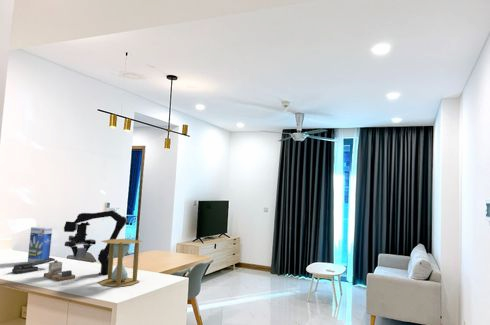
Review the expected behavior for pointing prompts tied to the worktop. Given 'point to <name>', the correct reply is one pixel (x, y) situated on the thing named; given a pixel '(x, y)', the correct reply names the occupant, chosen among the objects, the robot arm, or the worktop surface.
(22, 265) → the dark grey stapler
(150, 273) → the worktop surface
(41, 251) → the blue printed box
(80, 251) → the block
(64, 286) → the worktop surface
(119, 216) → the robot arm
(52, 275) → the rail board
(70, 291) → the worktop surface
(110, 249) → the hourglass
